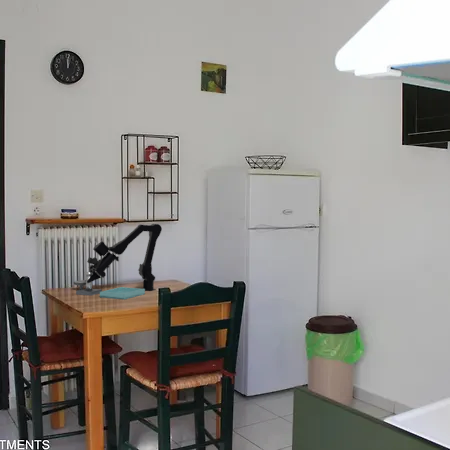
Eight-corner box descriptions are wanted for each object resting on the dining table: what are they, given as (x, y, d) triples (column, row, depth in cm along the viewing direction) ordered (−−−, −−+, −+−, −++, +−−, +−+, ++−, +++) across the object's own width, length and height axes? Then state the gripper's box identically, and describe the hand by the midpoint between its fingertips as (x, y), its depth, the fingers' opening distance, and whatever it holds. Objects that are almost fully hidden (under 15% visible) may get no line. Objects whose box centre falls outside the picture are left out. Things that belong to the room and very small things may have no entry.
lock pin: (88, 292, 325) (88, 271, 324) (94, 293, 323) (94, 272, 322) (83, 293, 320) (83, 272, 320) (89, 294, 319) (89, 273, 318)
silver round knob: (79, 288, 342) (79, 279, 341) (91, 289, 338) (91, 280, 338) (70, 290, 334) (70, 281, 334) (82, 291, 330) (82, 282, 330)
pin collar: (87, 291, 328) (87, 288, 328) (101, 293, 324) (101, 289, 324) (76, 294, 319) (76, 290, 319) (90, 295, 315) (90, 291, 315)
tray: (120, 292, 327) (120, 287, 327) (144, 294, 321) (144, 288, 321) (99, 297, 309) (99, 291, 309) (124, 299, 303) (124, 293, 303)
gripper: (92, 250, 331) (72, 270, 327) (99, 253, 314) (79, 274, 310) (105, 263, 335) (86, 283, 330) (114, 267, 318) (94, 288, 313)
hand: (86, 282), depth 321 cm, fingers closed on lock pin, 4 cm apart
